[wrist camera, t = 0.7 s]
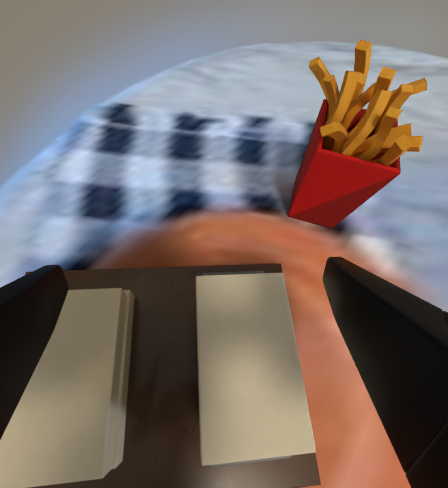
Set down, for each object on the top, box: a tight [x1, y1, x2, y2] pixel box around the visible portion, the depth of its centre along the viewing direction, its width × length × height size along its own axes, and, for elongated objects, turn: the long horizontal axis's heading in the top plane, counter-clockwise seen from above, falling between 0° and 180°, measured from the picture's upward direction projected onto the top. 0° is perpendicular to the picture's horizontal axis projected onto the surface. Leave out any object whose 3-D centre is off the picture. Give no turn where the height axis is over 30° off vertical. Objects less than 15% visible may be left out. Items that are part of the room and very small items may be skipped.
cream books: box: [0, 288, 135, 488], centre depth 18 cm, size 11×6×4 cm, turn 4°
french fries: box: [288, 40, 427, 228], centre depth 23 cm, size 9×8×15 cm
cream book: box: [196, 273, 316, 466], centre depth 17 cm, size 10×6×2 cm, turn 4°
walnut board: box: [25, 264, 321, 488], centre depth 21 cm, size 16×22×1 cm
